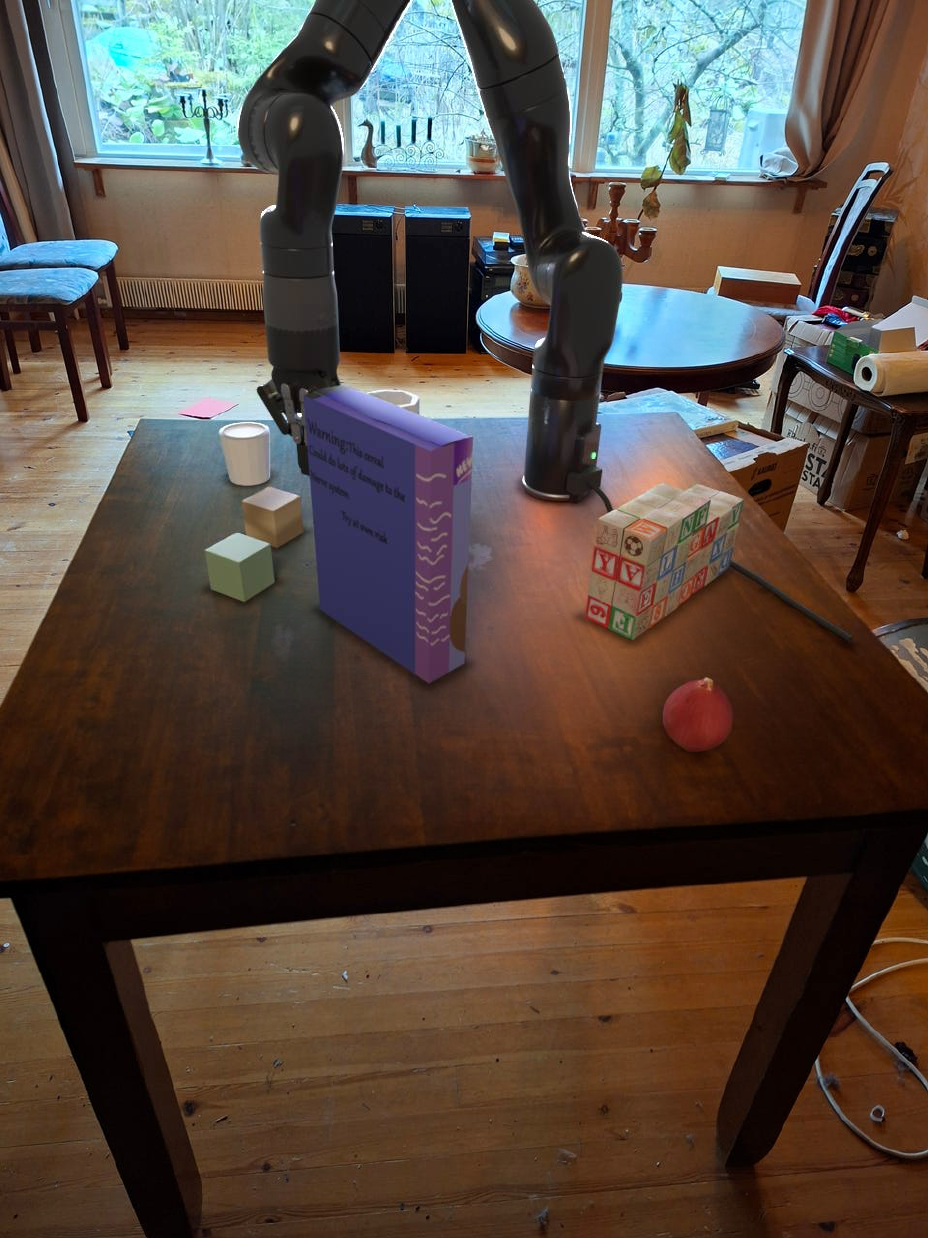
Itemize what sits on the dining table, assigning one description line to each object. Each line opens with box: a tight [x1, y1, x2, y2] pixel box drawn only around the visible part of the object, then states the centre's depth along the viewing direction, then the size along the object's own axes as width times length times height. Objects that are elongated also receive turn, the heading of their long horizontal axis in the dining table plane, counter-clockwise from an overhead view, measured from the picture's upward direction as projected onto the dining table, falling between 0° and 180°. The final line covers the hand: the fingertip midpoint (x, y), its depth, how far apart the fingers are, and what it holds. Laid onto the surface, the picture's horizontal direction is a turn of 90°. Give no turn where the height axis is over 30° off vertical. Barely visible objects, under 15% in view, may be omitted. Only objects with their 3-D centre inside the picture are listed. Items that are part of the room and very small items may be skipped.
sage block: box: [204, 532, 275, 603], centre depth 92 cm, size 5×5×5 cm
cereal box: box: [303, 384, 474, 686], centre depth 79 cm, size 17×5×24 cm, turn 44°
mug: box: [365, 389, 420, 415], centre depth 119 cm, size 12×9×10 cm
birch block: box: [241, 486, 304, 549], centre depth 102 cm, size 5×5×5 cm
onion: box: [662, 677, 734, 753], centre depth 71 cm, size 6×6×8 cm
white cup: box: [218, 421, 271, 487], centre depth 116 cm, size 7×7×7 cm
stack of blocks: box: [584, 482, 745, 641], centre depth 92 cm, size 21×6×12 cm, turn 138°
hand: (311, 473), depth 96 cm, fingers closed
